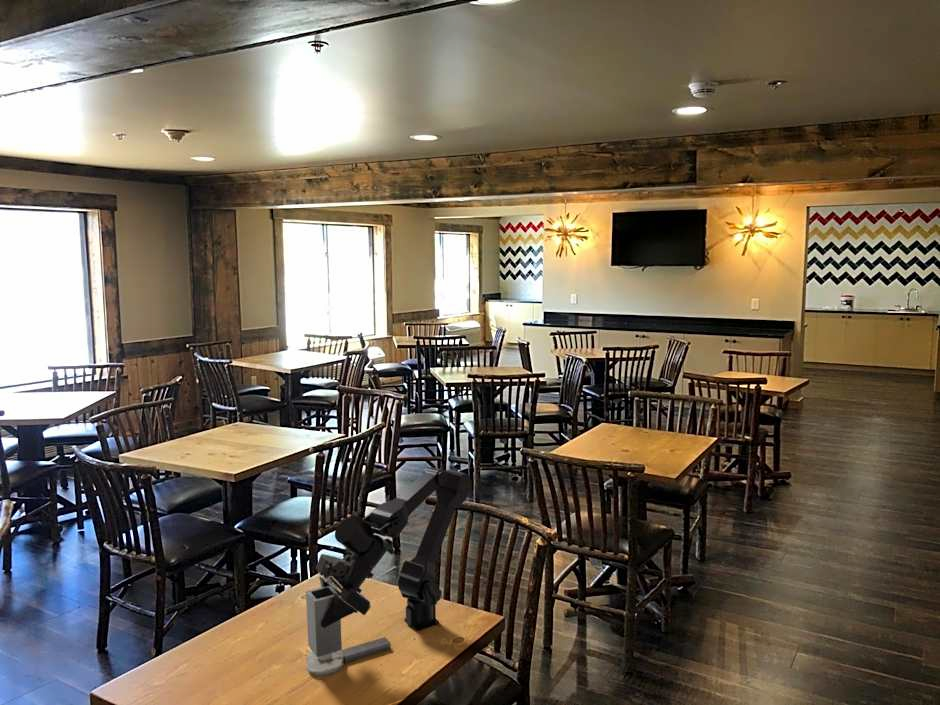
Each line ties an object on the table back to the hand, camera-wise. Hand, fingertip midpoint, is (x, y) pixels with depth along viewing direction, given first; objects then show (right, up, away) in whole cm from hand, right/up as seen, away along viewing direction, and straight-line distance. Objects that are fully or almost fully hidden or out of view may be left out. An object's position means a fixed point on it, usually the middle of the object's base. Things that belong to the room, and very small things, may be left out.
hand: (317, 620), depth 153 cm
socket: (+1, -6, +2) cm, 7 cm away
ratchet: (+6, -10, +5) cm, 13 cm away
